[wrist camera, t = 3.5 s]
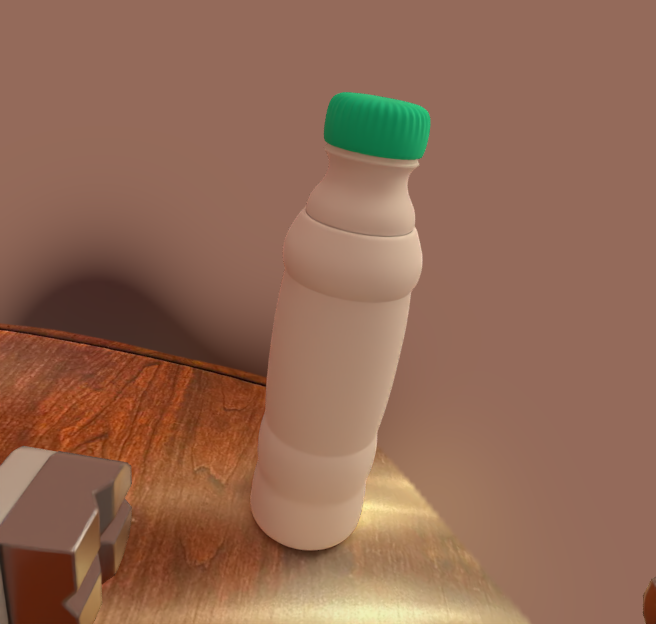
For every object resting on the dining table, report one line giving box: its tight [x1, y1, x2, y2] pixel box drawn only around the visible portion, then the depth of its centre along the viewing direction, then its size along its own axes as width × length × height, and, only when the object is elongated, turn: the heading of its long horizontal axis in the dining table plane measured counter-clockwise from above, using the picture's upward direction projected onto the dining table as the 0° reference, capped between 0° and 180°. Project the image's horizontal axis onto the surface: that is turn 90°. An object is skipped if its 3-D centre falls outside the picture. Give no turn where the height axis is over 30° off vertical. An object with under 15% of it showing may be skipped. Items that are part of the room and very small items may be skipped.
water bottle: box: [250, 92, 430, 550], centre depth 29 cm, size 7×7×25 cm
